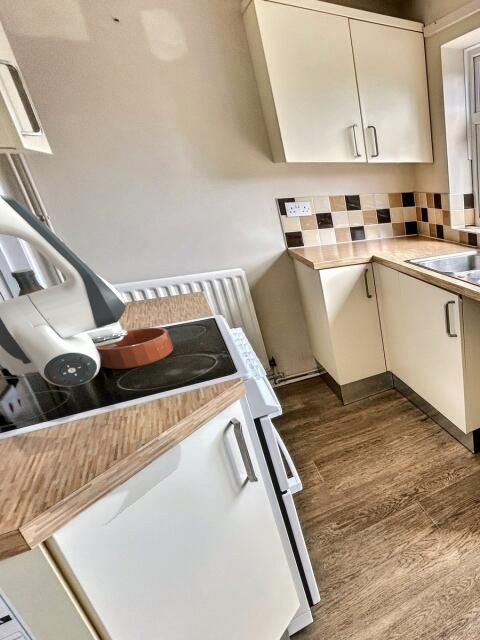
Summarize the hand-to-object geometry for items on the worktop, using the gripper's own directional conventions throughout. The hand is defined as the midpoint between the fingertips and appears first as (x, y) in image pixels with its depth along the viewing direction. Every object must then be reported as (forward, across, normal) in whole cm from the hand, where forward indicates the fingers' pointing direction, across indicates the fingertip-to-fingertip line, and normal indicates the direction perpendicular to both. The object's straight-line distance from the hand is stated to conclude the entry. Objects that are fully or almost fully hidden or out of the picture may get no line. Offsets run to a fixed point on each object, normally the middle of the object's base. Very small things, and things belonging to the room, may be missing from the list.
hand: (60, 332), depth 97 cm
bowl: (-3, -11, +10) cm, 15 cm away
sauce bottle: (+32, +2, +10) cm, 34 cm away
